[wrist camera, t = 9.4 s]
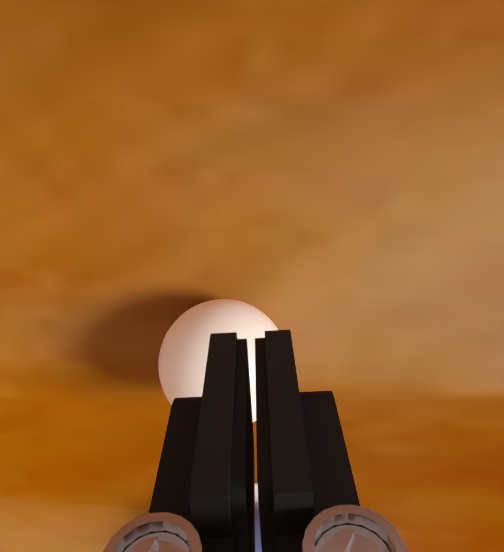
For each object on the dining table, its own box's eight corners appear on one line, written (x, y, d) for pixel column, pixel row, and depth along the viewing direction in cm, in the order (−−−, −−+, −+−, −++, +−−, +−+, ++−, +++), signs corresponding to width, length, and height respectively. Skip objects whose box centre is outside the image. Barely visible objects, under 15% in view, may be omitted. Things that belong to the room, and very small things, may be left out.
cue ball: (139, 447, 18) (171, 399, 23) (284, 459, 18) (283, 408, 23) (144, 303, 17) (176, 289, 23) (293, 313, 17) (290, 296, 23)
